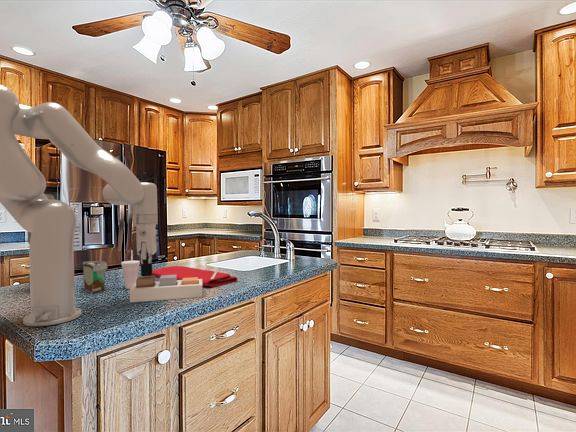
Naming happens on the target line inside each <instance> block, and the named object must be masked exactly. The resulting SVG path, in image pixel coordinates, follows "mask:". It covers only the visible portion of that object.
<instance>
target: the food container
mask: <svg viewBox="0 0 576 432" xmlns="http://www.w3.org/2000/svg"><path fill="white" fill-rule="evenodd" d="M82 268H83V290H85V292H86V291H87V292H89V293H90V294H92V295H93V294H94V295H95V294H98V293H101V292H104V290H105V286H106V285H105V283H106V282H105V281H106V270H107V269H108V264H107V262H106V261H104V260H91V261H90V260H89V261H83V262H82Z"/></svg>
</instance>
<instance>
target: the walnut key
mask: <svg viewBox="0 0 576 432" xmlns="http://www.w3.org/2000/svg"><path fill="white" fill-rule="evenodd" d="M155 282H156V277H155V276H138V278H137V279H136V288H141V287H154V286H155Z"/></svg>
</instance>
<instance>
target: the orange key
mask: <svg viewBox="0 0 576 432" xmlns="http://www.w3.org/2000/svg"><path fill="white" fill-rule="evenodd" d="M189 284H198V277H192V278H183V279H182V285H189Z"/></svg>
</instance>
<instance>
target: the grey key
mask: <svg viewBox="0 0 576 432" xmlns="http://www.w3.org/2000/svg"><path fill="white" fill-rule="evenodd" d="M159 281H160V286H173V285H177V275H161V277H160V278H159Z"/></svg>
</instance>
